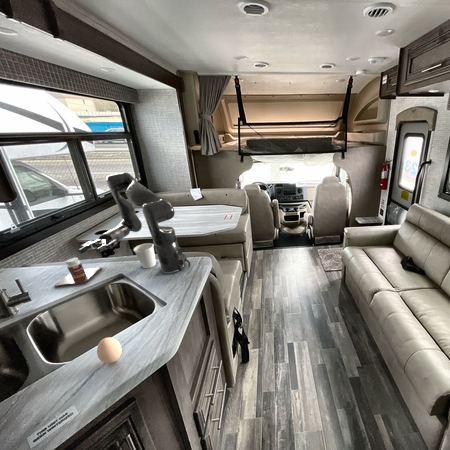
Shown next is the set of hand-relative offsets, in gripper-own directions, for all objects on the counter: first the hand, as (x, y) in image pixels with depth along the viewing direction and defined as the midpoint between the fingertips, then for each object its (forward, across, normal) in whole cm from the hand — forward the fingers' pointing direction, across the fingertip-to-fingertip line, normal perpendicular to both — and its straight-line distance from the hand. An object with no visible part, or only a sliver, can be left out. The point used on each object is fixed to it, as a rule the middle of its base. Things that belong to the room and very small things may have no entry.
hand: (88, 251), depth 115 cm
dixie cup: (0, +27, +9) cm, 28 cm away
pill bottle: (+9, 0, +8) cm, 12 cm away
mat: (+9, 0, +8) cm, 13 cm away
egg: (+53, +46, +9) cm, 71 cm away
